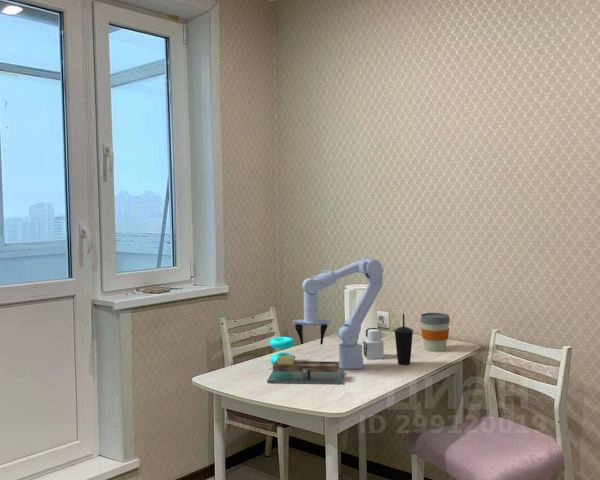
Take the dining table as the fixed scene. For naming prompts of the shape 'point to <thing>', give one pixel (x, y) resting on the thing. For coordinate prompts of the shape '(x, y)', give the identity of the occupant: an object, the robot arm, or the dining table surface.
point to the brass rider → (286, 360)
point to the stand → (306, 377)
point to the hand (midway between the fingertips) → (311, 343)
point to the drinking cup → (403, 343)
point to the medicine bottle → (373, 344)
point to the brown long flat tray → (308, 366)
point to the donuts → (281, 346)
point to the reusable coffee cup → (435, 331)
